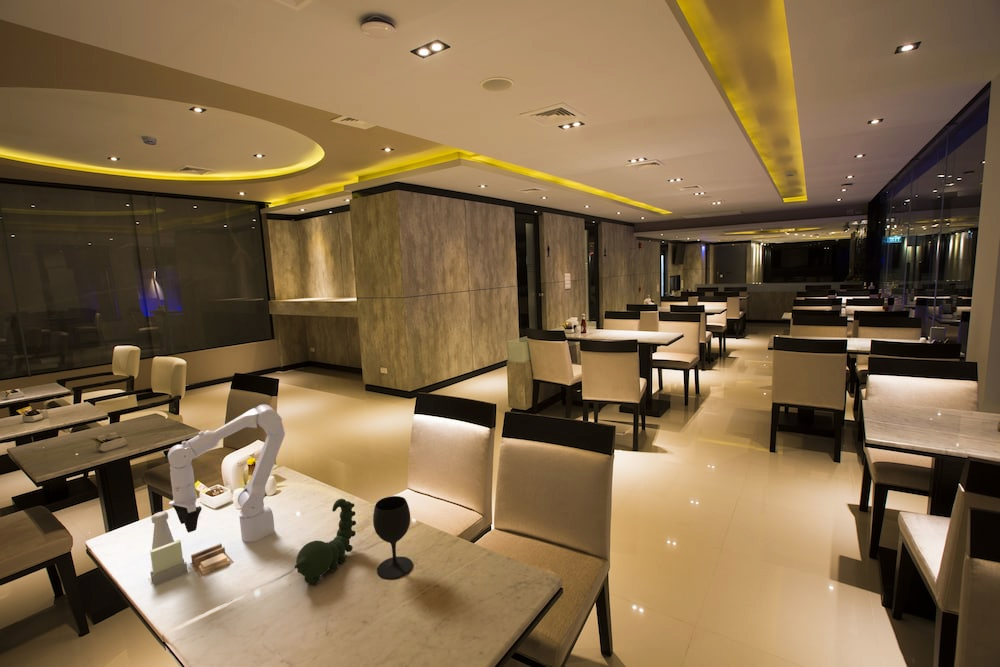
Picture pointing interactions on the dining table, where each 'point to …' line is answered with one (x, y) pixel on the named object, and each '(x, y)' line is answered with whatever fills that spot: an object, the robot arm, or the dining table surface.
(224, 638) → the dining table surface
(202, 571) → the lower pine offcut
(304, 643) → the dining table surface
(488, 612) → the dining table surface
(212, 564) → the upper pine offcut
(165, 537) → the salt shaker
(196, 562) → the walnut rack
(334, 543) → the toy figurine
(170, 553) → the sage sheet
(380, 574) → the wine glass
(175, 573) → the slate stand
